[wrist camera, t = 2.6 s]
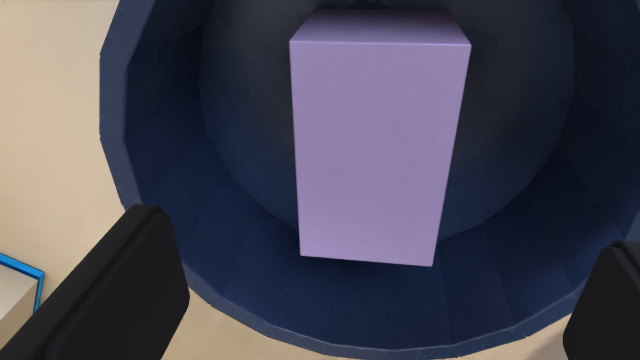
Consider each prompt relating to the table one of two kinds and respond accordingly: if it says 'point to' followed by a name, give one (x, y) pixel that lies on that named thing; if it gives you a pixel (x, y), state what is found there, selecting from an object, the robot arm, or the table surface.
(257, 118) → the tin
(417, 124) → the soap
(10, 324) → the book
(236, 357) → the table surface
